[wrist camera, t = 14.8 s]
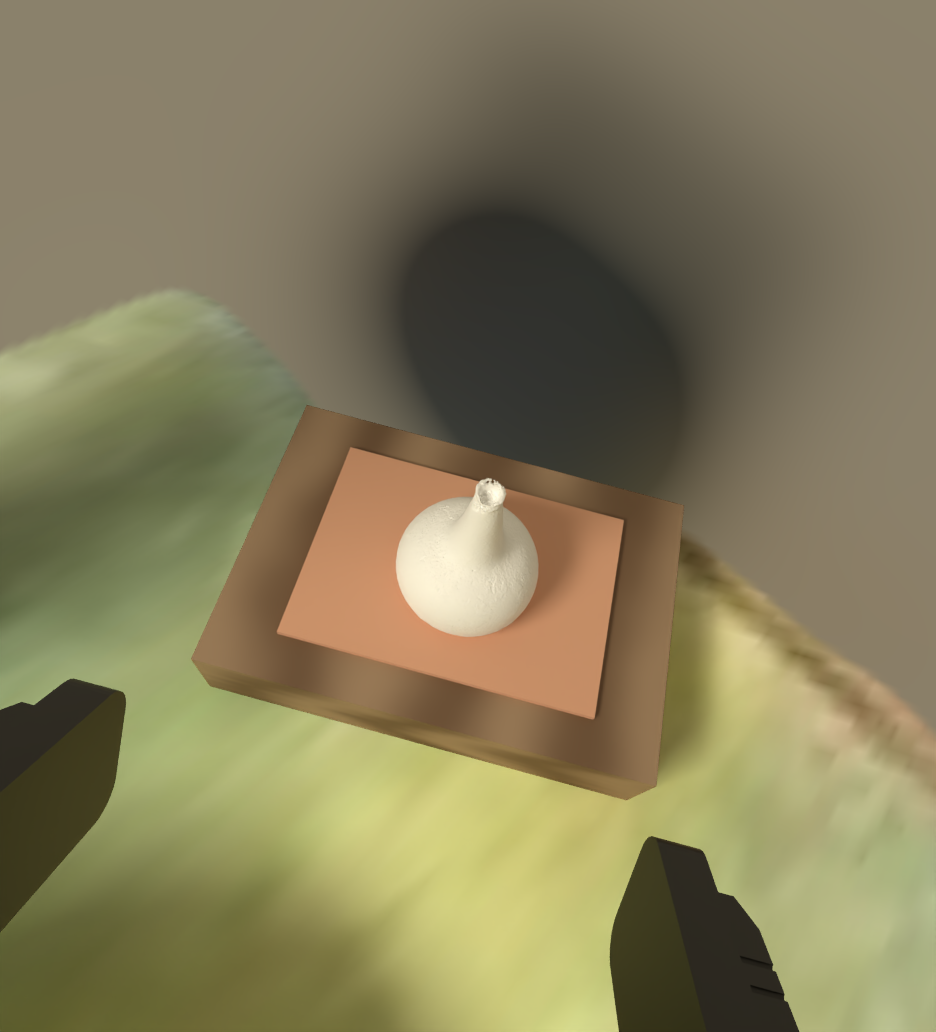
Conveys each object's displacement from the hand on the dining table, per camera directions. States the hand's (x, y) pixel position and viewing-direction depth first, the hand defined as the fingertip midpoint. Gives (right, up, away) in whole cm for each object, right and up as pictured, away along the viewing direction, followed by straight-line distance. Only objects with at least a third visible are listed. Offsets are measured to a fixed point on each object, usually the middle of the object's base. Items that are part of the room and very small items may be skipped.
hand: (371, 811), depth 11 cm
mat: (+1, +2, +22) cm, 23 cm away
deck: (+1, 0, +26) cm, 26 cm away
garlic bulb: (+1, +1, +22) cm, 22 cm away
